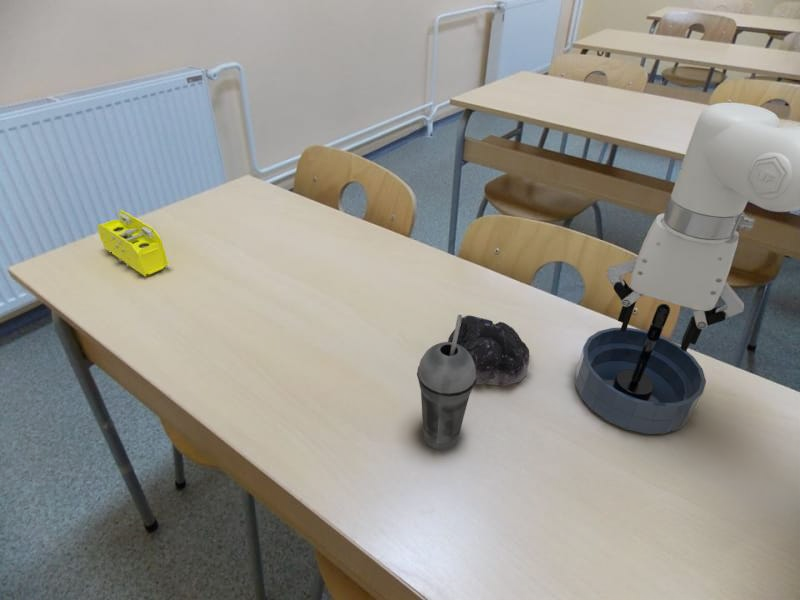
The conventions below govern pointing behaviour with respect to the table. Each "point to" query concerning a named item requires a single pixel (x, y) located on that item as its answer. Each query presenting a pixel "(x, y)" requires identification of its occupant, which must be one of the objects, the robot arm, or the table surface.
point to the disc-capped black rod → (643, 361)
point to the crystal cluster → (493, 350)
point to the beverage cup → (445, 390)
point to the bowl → (666, 367)
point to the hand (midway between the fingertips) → (653, 334)
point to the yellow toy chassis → (134, 243)
